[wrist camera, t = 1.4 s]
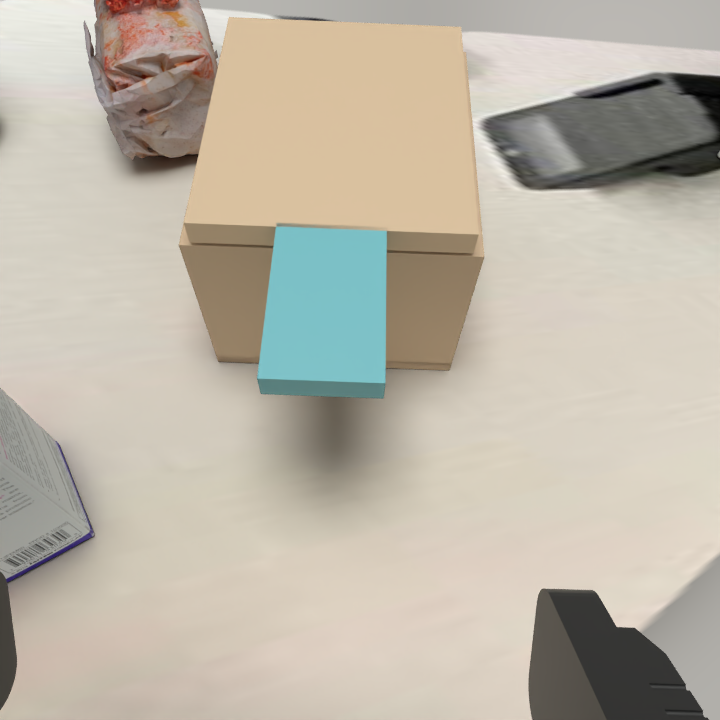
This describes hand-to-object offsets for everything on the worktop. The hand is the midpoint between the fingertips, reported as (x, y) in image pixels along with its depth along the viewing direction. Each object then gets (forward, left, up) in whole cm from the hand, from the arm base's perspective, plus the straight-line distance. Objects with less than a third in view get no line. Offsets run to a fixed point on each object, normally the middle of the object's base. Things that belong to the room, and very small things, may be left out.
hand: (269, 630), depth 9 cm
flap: (0, +20, -10) cm, 22 cm away
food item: (-13, +37, -21) cm, 45 cm away
